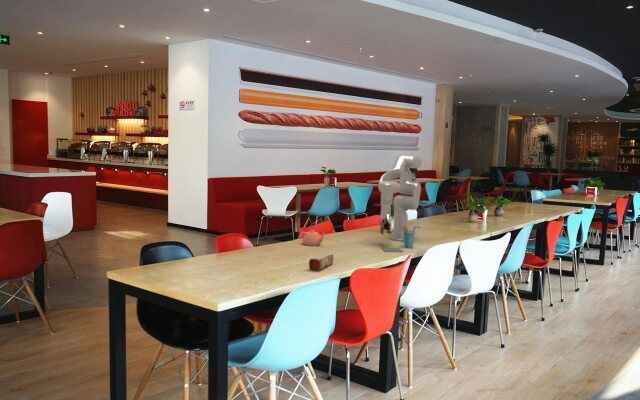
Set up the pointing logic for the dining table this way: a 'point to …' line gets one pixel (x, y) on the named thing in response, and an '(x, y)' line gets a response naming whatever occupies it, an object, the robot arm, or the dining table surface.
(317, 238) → the teapot
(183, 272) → the dining table surface
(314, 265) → the snack package
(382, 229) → the brown box with pegs
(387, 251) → the mat
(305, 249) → the dining table surface
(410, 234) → the cup
